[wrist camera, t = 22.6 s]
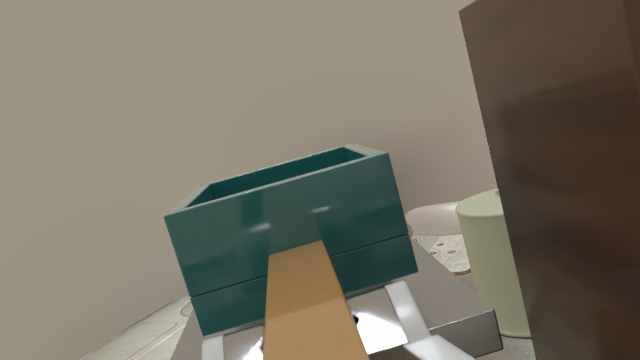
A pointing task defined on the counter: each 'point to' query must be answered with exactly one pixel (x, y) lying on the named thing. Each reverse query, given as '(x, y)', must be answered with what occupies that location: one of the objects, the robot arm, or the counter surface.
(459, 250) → the counter surface
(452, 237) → the counter surface
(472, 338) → the scale
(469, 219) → the can
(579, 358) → the plinth
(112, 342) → the counter surface
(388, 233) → the teal handled box
